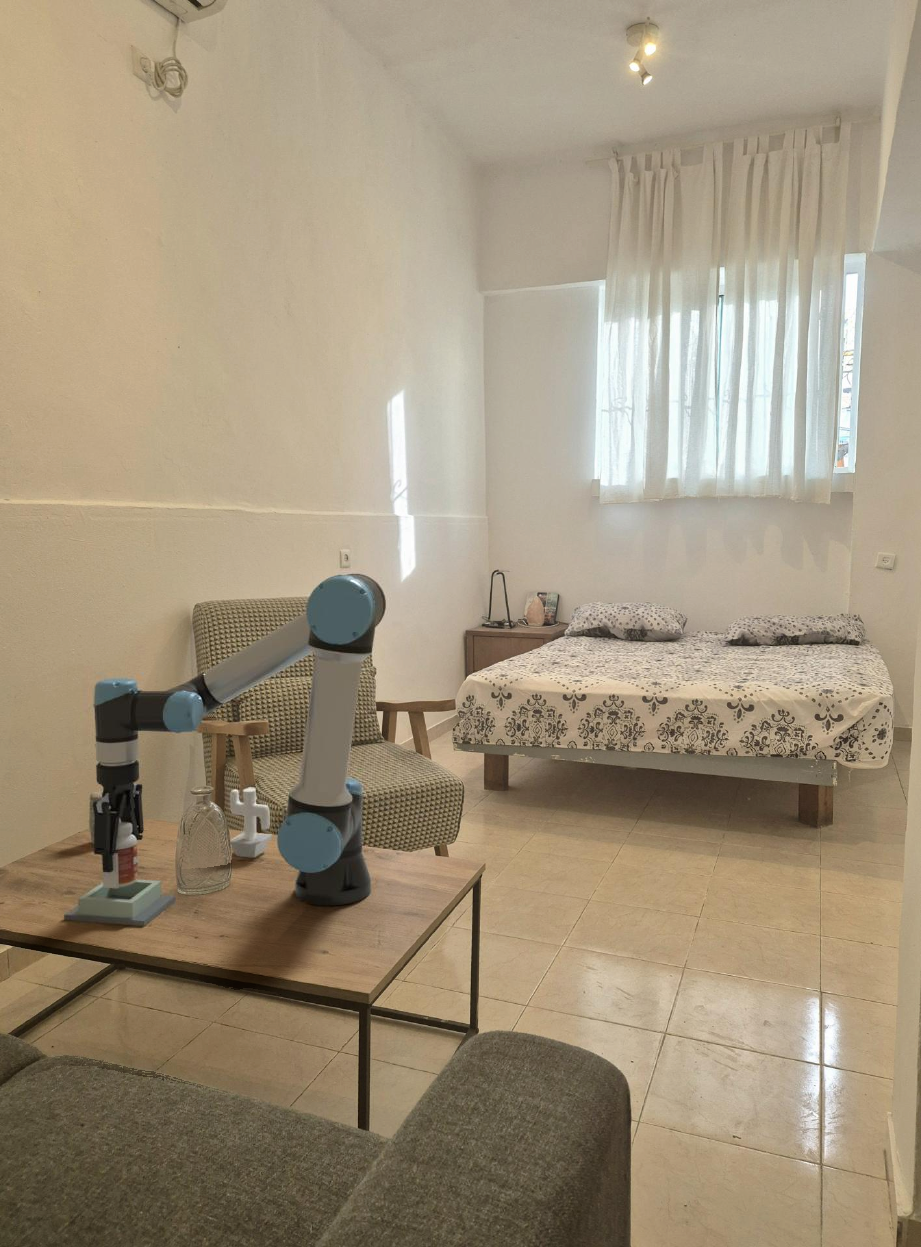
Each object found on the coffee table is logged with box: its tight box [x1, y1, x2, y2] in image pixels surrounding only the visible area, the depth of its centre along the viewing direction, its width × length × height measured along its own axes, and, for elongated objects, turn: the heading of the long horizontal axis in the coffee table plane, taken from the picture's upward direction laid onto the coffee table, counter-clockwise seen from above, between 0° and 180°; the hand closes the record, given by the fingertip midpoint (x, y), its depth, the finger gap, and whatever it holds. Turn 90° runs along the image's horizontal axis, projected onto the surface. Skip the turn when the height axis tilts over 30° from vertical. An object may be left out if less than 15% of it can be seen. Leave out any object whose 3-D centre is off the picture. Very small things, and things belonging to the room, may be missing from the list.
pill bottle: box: [115, 822, 139, 887], centre depth 170 cm, size 6×6×11 cm
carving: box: [88, 790, 121, 845], centre depth 209 cm, size 6×8×12 cm
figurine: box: [229, 786, 273, 859], centre depth 202 cm, size 7×9×15 cm
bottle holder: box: [63, 879, 176, 927], centre depth 171 cm, size 16×12×4 cm
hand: (120, 880), depth 171 cm, fingers closed on pill bottle, 6 cm apart
